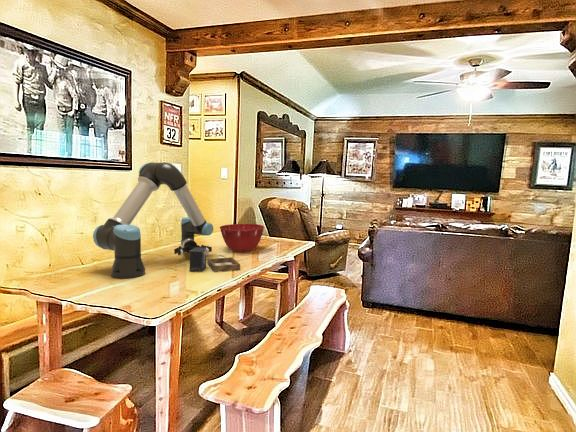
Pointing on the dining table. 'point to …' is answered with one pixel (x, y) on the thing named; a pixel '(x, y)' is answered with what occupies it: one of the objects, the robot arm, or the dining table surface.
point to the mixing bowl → (242, 236)
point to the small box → (197, 259)
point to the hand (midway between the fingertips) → (195, 253)
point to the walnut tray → (223, 264)
